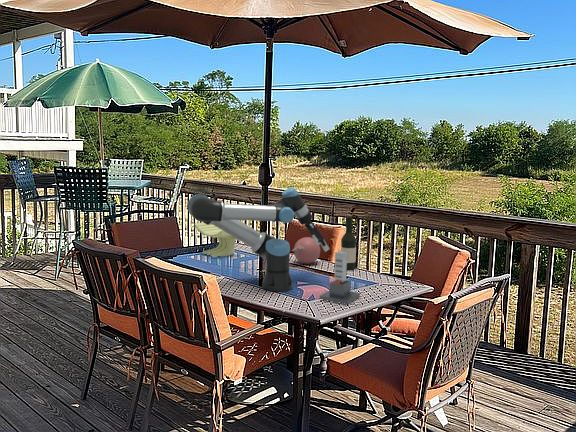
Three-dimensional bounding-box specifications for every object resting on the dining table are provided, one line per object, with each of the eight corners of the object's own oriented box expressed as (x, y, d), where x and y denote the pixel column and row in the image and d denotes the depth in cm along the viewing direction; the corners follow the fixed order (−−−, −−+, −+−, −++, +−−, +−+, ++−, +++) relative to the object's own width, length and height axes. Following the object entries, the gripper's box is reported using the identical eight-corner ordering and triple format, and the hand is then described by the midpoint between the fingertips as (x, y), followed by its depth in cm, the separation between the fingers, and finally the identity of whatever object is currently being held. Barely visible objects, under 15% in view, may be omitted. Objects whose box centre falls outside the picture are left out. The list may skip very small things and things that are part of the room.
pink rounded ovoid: (282, 264, 338) (282, 238, 335) (307, 259, 351) (307, 233, 348) (300, 269, 326) (300, 242, 324) (325, 263, 340) (326, 237, 337)
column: (338, 292, 275) (339, 251, 272) (345, 294, 273) (346, 252, 270) (333, 295, 271) (334, 252, 268) (341, 296, 269) (342, 253, 266)
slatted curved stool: (243, 256, 356) (243, 227, 353) (221, 260, 346) (221, 230, 343) (216, 248, 379) (216, 221, 376) (195, 251, 369) (194, 223, 366)
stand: (333, 292, 282) (333, 274, 281) (359, 297, 275) (360, 278, 274) (319, 299, 270) (319, 281, 269) (347, 305, 263) (347, 285, 262)
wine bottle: (354, 270, 324) (356, 217, 320) (339, 269, 326) (341, 216, 321) (356, 267, 333) (357, 215, 328) (341, 266, 334) (342, 214, 329)
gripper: (315, 215, 290) (336, 248, 296) (302, 206, 314) (322, 237, 320) (303, 223, 289) (324, 257, 296) (291, 214, 313) (311, 245, 319)
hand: (323, 247), depth 308 cm, fingers open, 13 cm apart
